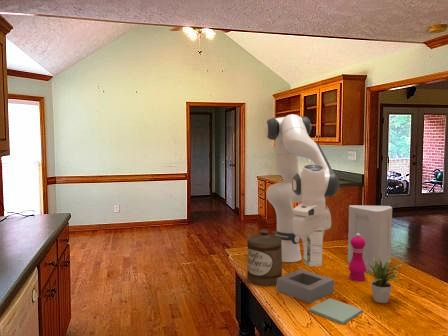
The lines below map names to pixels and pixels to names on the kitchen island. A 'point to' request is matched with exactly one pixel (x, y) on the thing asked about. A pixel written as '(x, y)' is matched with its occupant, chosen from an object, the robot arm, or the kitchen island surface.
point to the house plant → (382, 280)
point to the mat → (336, 311)
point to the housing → (305, 285)
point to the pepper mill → (357, 259)
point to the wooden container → (264, 259)
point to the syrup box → (314, 248)
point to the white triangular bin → (371, 232)
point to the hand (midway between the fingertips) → (312, 243)
